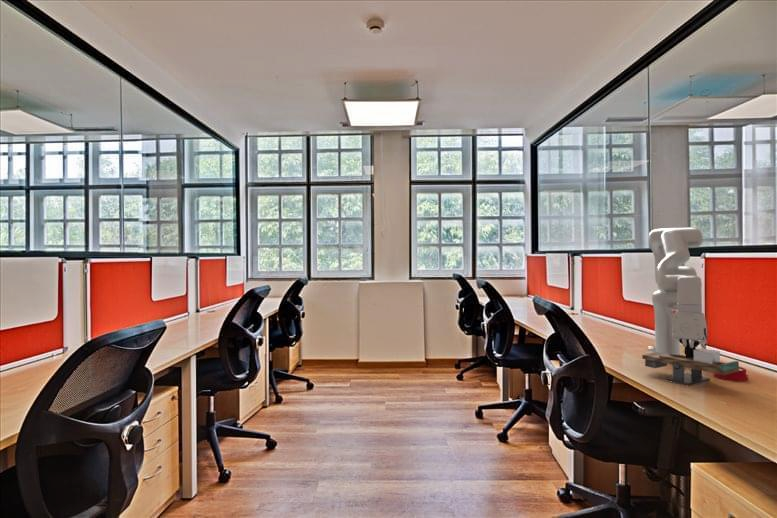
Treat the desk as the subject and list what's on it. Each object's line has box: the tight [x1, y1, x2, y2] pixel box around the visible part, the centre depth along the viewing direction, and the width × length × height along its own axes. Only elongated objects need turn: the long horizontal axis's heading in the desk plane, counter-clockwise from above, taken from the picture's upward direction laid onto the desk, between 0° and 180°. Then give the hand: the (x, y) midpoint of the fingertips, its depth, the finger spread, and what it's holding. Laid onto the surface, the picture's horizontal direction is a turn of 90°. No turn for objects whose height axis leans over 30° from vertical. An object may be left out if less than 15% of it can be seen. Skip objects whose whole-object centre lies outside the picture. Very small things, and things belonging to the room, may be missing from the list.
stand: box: [665, 364, 711, 387], centre depth 159 cm, size 8×15×7 cm, turn 118°
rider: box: [694, 347, 721, 366], centre depth 153 cm, size 6×5×5 cm
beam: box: [641, 352, 740, 375], centre depth 159 cm, size 28×10×6 cm, turn 28°
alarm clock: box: [712, 366, 749, 382], centre depth 163 cm, size 10×6×15 cm
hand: (690, 357), depth 158 cm, fingers closed
